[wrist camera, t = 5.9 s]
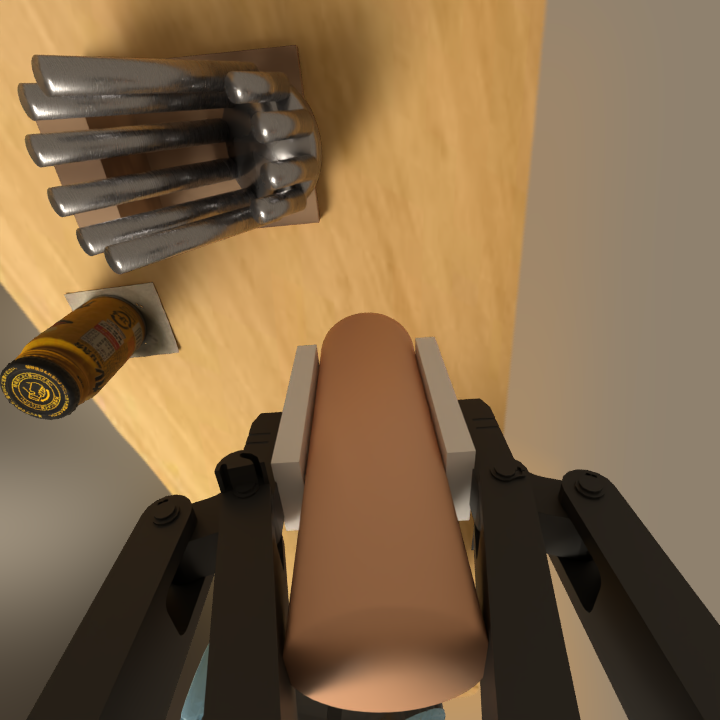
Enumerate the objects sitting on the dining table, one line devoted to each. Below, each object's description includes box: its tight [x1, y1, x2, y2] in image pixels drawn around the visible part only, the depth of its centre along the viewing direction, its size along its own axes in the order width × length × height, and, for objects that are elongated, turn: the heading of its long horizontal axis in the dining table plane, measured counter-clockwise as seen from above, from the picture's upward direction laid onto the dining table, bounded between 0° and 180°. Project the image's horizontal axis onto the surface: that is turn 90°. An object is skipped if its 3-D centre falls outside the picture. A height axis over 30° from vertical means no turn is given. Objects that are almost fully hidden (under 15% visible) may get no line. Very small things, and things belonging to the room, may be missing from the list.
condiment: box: [0, 282, 179, 420], centre depth 36 cm, size 7×8×12 cm
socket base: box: [36, 45, 320, 228], centre depth 30 cm, size 12×16×8 cm
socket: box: [18, 55, 322, 274], centre depth 27 cm, size 10×16×15 cm, turn 95°
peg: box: [283, 313, 489, 712], centre depth 13 cm, size 4×4×12 cm
